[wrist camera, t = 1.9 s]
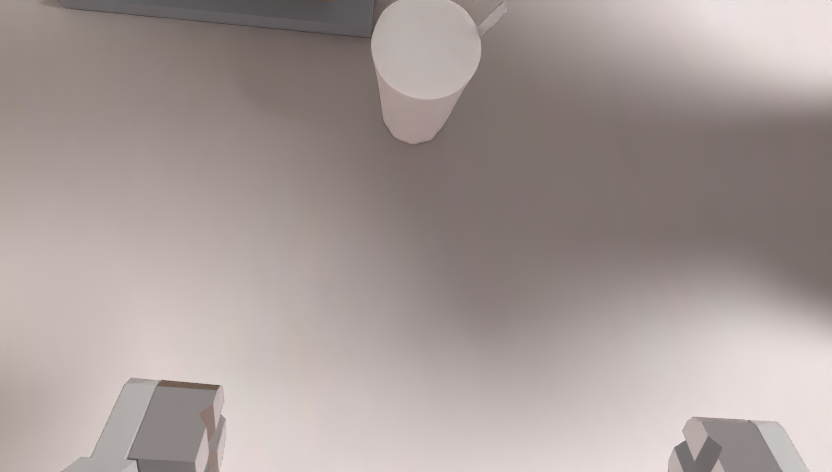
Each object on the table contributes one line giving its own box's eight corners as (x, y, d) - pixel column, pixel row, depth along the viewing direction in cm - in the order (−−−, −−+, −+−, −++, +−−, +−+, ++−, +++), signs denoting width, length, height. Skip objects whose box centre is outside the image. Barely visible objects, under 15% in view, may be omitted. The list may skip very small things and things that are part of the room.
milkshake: (481, 141, 36) (523, 58, 27) (383, 166, 36) (388, 90, 26) (457, 63, 37) (490, -46, 27) (361, 85, 36) (358, -18, 27)
